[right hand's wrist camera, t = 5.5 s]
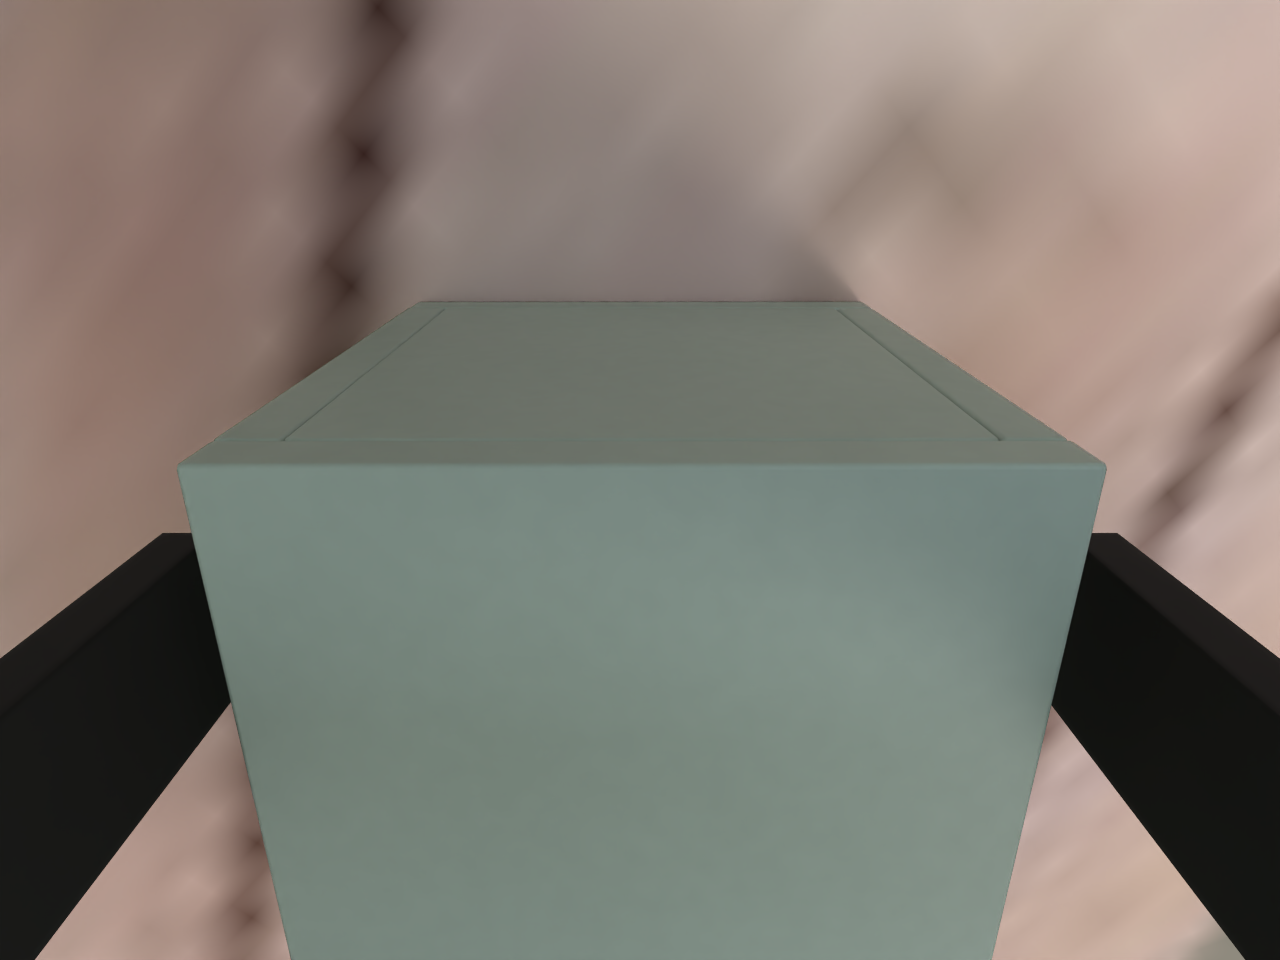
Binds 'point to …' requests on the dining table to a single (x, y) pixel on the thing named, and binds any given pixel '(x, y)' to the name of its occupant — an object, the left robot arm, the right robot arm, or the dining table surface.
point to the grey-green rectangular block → (641, 634)
